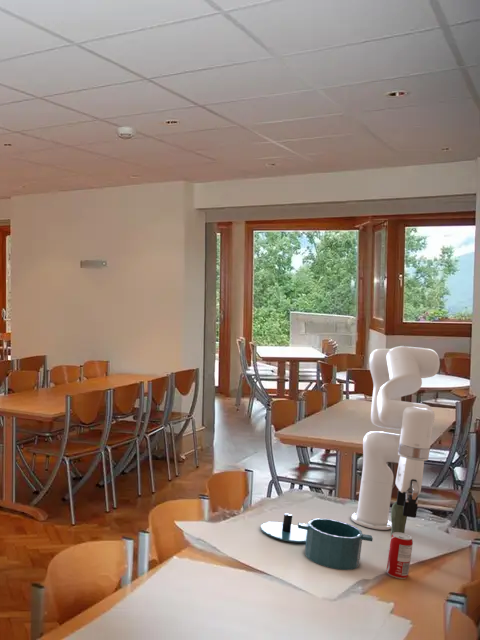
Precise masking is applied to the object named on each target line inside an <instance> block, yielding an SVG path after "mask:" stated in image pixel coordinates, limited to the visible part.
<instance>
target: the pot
mask: <svg viewBox="0 0 480 640" xmlns="http://www.w3.org/2000/svg"><path fill="white" fill-rule="evenodd" d="M297 526H298V528H299V529H305V530H307V536H306V542H305V546H304V555H305V557H306V558H307V559H308V560H309V561H311V562H313V563H315V564H317V565H320V566H323V567H326V568H329V569H334V570H342V571H351V570H355V569H357V568H358V567H359V565H360V562H361V561H360V560H361V553H362V546H363V545H362V544H363V541H366V542H373V540H374V537H373V535H371V534H366V533H363V532H362V530H361V529H359V528H358V527H357V526H355V525H352V524H350V523H348V522H345V521H341V520H336V519H330V518H312V519H309V521H307V523H303V522H298V523H297Z"/></svg>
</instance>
